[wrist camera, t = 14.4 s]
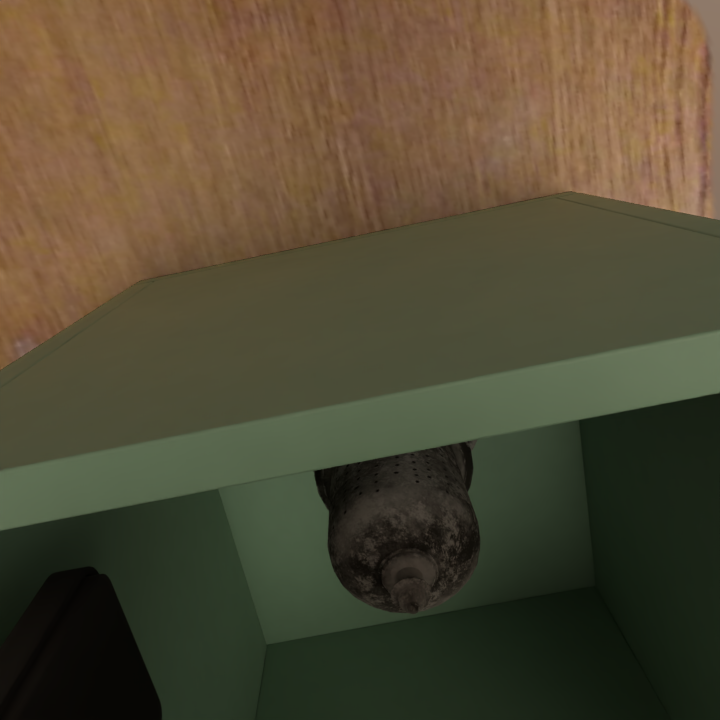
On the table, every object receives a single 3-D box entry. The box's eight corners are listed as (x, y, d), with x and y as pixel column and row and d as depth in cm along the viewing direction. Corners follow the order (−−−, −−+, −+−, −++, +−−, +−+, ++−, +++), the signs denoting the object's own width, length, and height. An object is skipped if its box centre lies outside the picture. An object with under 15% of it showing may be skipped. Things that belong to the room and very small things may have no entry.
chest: (137, 280, 21) (-230, 516, 8) (572, 190, 21) (1006, 273, 7) (255, 648, 26) (155, 1187, 13) (609, 584, 26) (907, 1081, 12)
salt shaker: (285, 284, 21) (206, 454, 9) (466, 275, 21) (613, 435, 9) (298, 448, 22) (247, 759, 11) (465, 440, 22) (585, 742, 11)
